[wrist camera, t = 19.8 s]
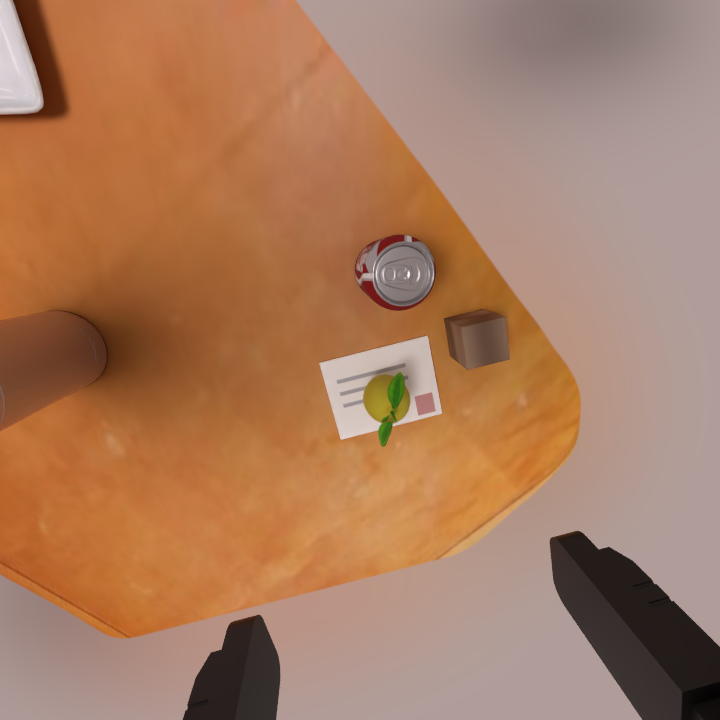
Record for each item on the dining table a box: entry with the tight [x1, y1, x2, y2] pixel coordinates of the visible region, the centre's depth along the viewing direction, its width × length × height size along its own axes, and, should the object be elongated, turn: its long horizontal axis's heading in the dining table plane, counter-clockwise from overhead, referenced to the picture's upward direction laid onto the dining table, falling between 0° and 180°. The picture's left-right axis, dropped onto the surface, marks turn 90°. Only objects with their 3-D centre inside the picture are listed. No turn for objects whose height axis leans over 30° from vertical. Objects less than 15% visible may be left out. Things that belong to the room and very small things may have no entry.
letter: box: [319, 335, 442, 440], centre depth 47 cm, size 14×11×1 cm
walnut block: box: [444, 309, 510, 370], centre depth 43 cm, size 5×5×6 cm
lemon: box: [363, 372, 410, 447], centre depth 42 cm, size 7×6×10 cm
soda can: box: [355, 235, 436, 311], centre depth 37 cm, size 7×7×12 cm
